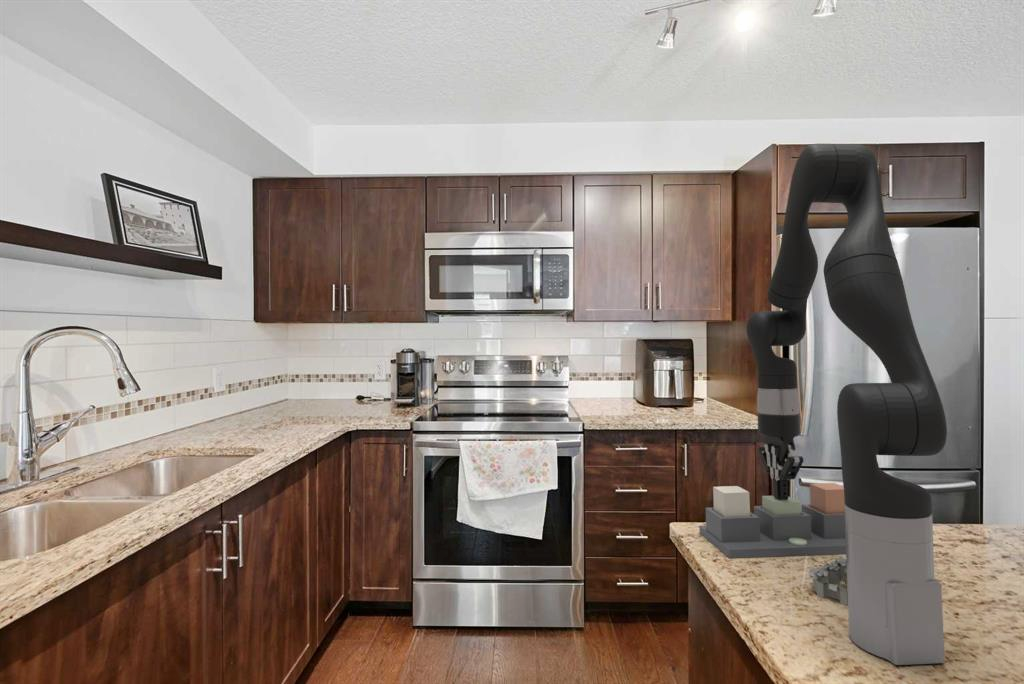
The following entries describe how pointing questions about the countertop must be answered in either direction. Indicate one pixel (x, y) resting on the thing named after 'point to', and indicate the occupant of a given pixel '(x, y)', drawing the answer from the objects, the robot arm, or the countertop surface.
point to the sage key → (781, 506)
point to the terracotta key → (827, 498)
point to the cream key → (731, 501)
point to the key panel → (776, 533)
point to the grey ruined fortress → (831, 580)
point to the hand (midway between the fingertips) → (780, 498)
